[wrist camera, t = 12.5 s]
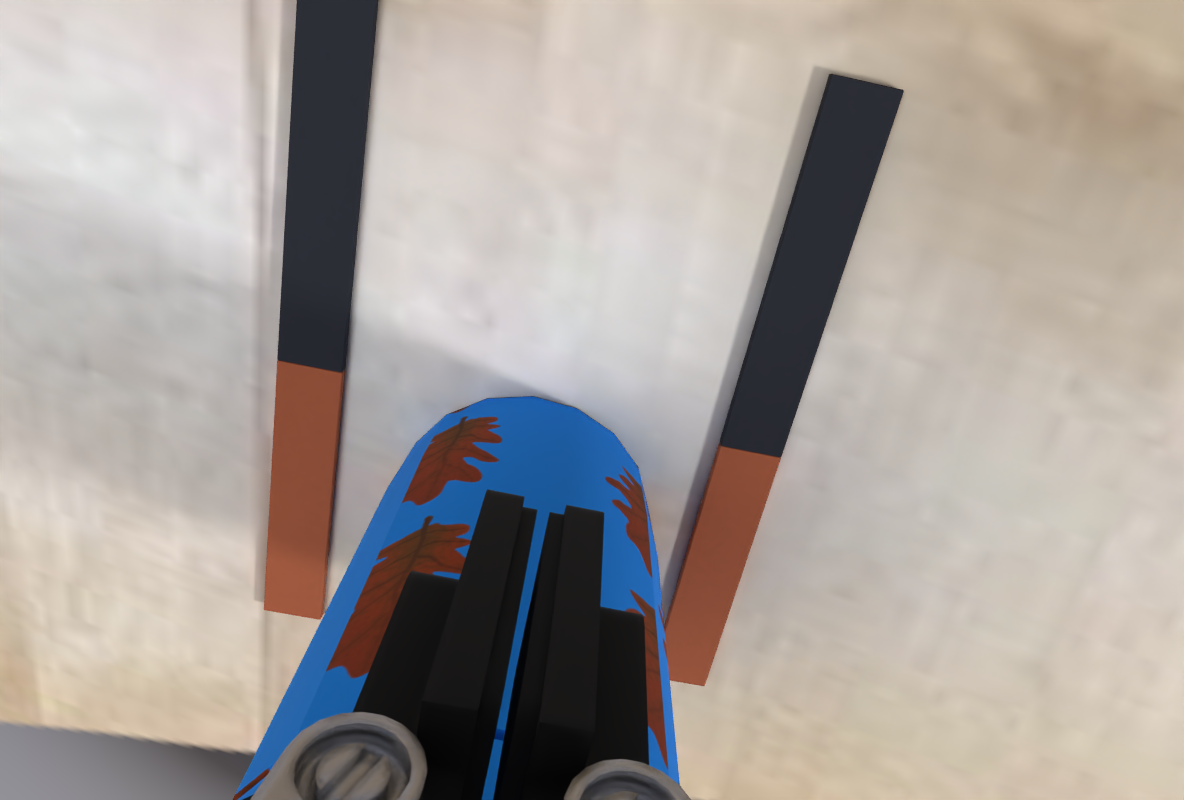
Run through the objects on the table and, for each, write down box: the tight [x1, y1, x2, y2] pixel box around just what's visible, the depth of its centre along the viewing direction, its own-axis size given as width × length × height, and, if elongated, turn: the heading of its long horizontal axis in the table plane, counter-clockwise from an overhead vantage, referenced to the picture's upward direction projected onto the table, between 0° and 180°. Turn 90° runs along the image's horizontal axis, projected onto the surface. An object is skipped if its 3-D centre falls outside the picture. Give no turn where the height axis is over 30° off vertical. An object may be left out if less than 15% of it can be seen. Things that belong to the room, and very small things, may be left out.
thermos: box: [233, 396, 680, 800], centre depth 23 cm, size 11×11×25 cm
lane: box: [264, 0, 904, 686], centre depth 32 cm, size 26×20×1 cm
